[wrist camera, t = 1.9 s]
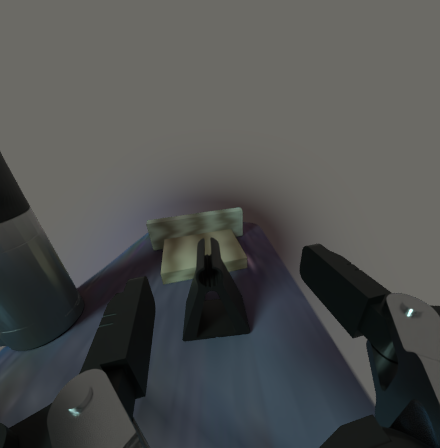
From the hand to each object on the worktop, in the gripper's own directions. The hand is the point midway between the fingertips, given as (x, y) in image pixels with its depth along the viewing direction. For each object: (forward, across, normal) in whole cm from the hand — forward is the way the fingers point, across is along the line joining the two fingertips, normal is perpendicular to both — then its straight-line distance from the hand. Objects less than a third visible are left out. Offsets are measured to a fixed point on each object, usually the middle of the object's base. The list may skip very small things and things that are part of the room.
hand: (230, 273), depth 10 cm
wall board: (+26, 0, +18) cm, 32 cm away
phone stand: (+11, 0, +18) cm, 21 cm away
